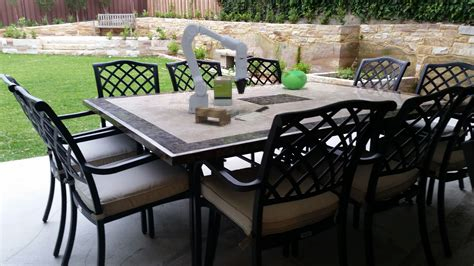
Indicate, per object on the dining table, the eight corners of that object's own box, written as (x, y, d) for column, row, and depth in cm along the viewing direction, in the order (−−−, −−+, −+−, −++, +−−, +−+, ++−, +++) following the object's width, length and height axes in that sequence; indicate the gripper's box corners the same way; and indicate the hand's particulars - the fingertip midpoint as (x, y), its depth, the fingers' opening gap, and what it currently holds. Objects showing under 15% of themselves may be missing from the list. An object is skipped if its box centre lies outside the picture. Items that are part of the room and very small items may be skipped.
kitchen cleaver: (252, 120, 180) (234, 115, 185) (252, 124, 181) (233, 119, 185) (279, 109, 207) (262, 105, 211) (278, 112, 207) (261, 108, 212)
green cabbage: (307, 87, 283) (308, 67, 279) (305, 91, 267) (306, 69, 263) (282, 86, 287) (282, 66, 283) (279, 90, 271) (280, 69, 267)
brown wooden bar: (219, 119, 186) (219, 115, 185) (231, 114, 198) (231, 109, 198) (227, 120, 184) (227, 115, 184) (238, 114, 197) (238, 110, 196)
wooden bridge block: (195, 122, 178) (195, 107, 176) (205, 119, 185) (204, 104, 183) (222, 126, 172) (221, 111, 170) (230, 122, 179) (230, 107, 177)
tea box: (215, 101, 231) (214, 76, 228) (232, 101, 231) (232, 76, 228) (213, 106, 217) (213, 79, 213) (231, 106, 217) (231, 79, 213)
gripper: (241, 68, 187) (241, 96, 191) (254, 66, 200) (254, 92, 203) (228, 67, 191) (228, 95, 194) (242, 65, 203) (242, 91, 206)
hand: (241, 93), depth 199 cm, fingers closed
